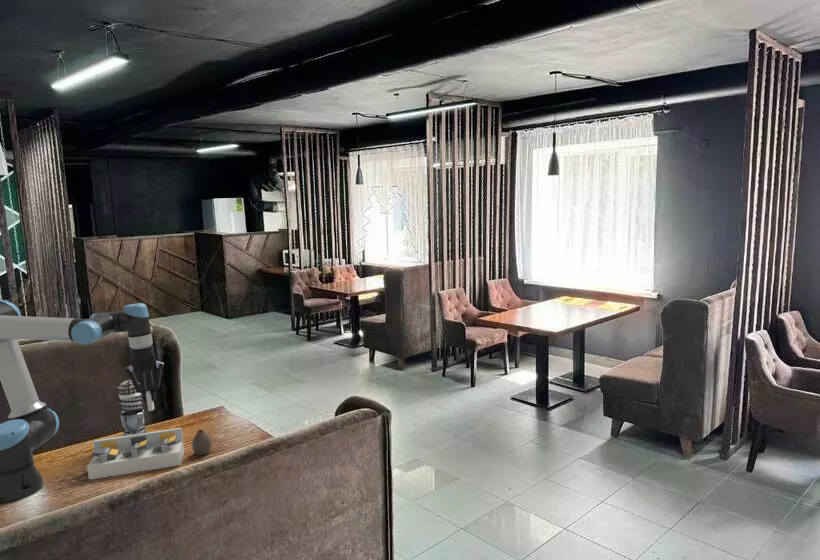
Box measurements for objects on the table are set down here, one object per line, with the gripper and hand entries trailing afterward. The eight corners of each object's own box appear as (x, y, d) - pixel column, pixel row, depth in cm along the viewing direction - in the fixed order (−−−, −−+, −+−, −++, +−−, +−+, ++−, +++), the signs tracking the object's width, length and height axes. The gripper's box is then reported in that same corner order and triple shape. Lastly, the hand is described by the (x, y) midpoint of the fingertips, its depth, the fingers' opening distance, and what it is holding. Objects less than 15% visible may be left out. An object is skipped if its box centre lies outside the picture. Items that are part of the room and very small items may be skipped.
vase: (196, 458, 208) (194, 436, 207) (190, 453, 213) (188, 431, 212) (215, 452, 212) (212, 430, 211) (208, 447, 217) (206, 426, 216)
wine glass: (138, 453, 216) (134, 416, 214) (120, 452, 217) (115, 415, 215) (152, 444, 223) (147, 408, 221) (134, 444, 225) (130, 408, 223)
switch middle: (124, 457, 200) (122, 453, 200) (127, 452, 205) (125, 447, 204) (147, 448, 202) (144, 443, 201) (149, 443, 207) (147, 438, 206)
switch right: (154, 453, 203) (152, 448, 202) (156, 447, 207) (154, 443, 207) (176, 444, 204) (174, 439, 204) (178, 439, 209) (176, 434, 209)
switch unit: (88, 480, 195) (85, 452, 194) (97, 466, 206) (94, 440, 205) (180, 465, 203) (177, 438, 202) (184, 452, 214) (181, 427, 212)
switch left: (91, 456, 197) (92, 451, 197) (94, 451, 202) (96, 445, 202) (115, 459, 199) (116, 454, 199) (118, 454, 204) (120, 449, 204)
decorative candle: (131, 447, 222) (124, 386, 219) (118, 443, 227) (110, 383, 224) (152, 438, 230) (145, 379, 227) (139, 434, 235) (132, 377, 231)
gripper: (119, 351, 195) (129, 416, 198) (159, 346, 198) (168, 409, 201) (124, 346, 202) (134, 409, 205) (162, 341, 205) (172, 403, 208)
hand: (151, 409), depth 203 cm, fingers closed
